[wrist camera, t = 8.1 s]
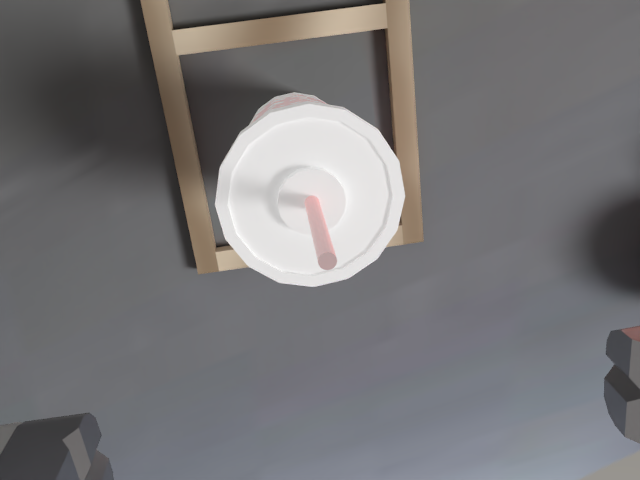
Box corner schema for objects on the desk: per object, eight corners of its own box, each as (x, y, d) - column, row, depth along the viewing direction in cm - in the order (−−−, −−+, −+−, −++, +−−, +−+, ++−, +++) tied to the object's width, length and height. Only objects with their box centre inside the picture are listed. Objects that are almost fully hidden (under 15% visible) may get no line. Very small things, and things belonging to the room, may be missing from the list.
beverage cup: (204, 109, 27) (151, 204, 14) (330, 51, 26) (399, 90, 13) (264, 227, 29) (267, 403, 16) (381, 174, 29) (482, 311, 16)
